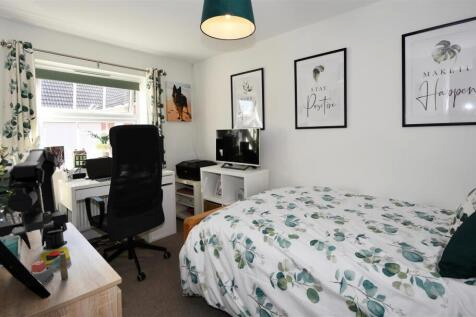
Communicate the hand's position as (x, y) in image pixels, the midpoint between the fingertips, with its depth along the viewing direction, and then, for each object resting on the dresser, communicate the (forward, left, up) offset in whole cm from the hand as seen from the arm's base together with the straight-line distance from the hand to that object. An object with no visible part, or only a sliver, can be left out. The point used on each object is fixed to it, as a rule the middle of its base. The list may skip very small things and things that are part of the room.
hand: (36, 247), depth 88 cm
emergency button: (-12, -4, -13) cm, 18 cm away
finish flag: (0, +8, -12) cm, 14 cm away
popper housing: (0, 0, -12) cm, 12 cm away
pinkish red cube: (0, 0, -9) cm, 9 cm away
